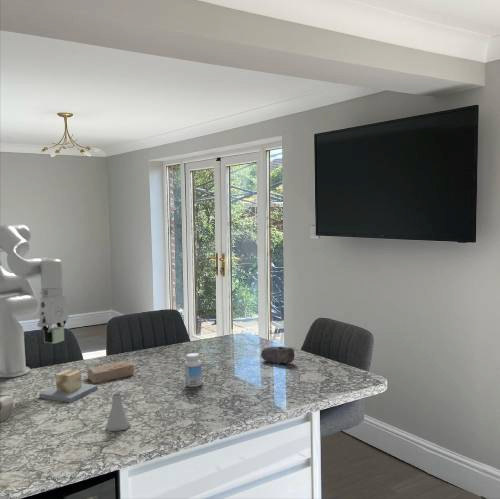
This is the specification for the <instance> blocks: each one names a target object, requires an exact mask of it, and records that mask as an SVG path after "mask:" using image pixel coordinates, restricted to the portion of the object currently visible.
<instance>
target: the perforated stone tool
mask: <svg viewBox="0 0 500 499" xmlns="http://www.w3.org/2000/svg"><path fill="white" fill-rule="evenodd" d="M260 355H261V358H262V359H263V360H264V361H265V362H271V363H272V364H277V365H280V364H283V365H288V364H290V363H293V361H294V359H295V349H293V348H292V347H287V346H286V347H283V346H269V347H268V346H267V347H265V348H263V349H262V350H261V353H260Z"/></svg>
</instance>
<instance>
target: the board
mask: <svg viewBox="0 0 500 499" xmlns="http://www.w3.org/2000/svg"><path fill="white" fill-rule="evenodd" d="M81 384H82V387H81V388H79V389H77V390H75V391H73V392H70V393H68V392H61V391H57V387H56V386H54V387H52V388H49V389H47V390H46V389H45V390H44V391H42V392H40V393H39V398H40V399H45V400H46V399H47V400H53V401H60V402H67V403H73V402H75V401H77V400H79V399H81V398H82V397H85V396H87V395H89V394H91V393H93V392H96V391H98V389H99V388H98V387H99V386H98V385H96V384H92V383H91V384H90V383H82V382H81Z"/></svg>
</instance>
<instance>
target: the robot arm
mask: <svg viewBox="0 0 500 499" xmlns="http://www.w3.org/2000/svg"><path fill="white" fill-rule="evenodd" d="M31 237H32V236H31V231H30V229H29V228H28V227H27V226H26V225H24V224H22V223H19V224H17V223H16V224H1V225H0V253H3V252H5V253H6V254H7V255H6V262H7V265H8V268H9V270H10V271H11V272H10V271H7V270H6V268H5V266H4V264H3V262H2V261H1V260H0V378H4V379H5V378H16V377H21V376H23V375H24V376H25V375H27V374H28V373H30V372H31V368H30V367H29V366H26V350H25V348H26V347H25V346H26V345H25V332H24V327H23V326H22V325H21V323H20V322H19V319H22V318H28V317H33V316H34V315H36V314H38V312H39V320H38V322H37V327H39V328H40V330H41V331H42V332H43V338H44V337H45V342H48V344H52V343H51V342H52V332H50V331H51V327H53V326H52V325H55V327H64V328H65V325H66V323H67V321H68V320H69V315H68V314H69V313H68V306H67V299H66V295H65V294H64V283H63V282H64V280H63V263H62V260H61V259H59V258H50V257H47V256H40V257H30V258H25V256H27V254H28V253H29V251H30V244H29V242H30V240H31V239H32V238H31ZM36 278H37V279H38V278H40V285H41V286H40V288H41V291H40V295H41V297H40V301H39V299H38V296H37V294H36V292H35V290H34V288H33V285H32V283H31V279H36ZM45 342H44V343H45Z"/></svg>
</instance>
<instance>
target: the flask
mask: <svg viewBox="0 0 500 499" xmlns="http://www.w3.org/2000/svg"><path fill="white" fill-rule="evenodd" d="M110 396H111V398H112V404H111V409H110V412H109V416H108V420H107V422H106V426H105V429H106V431H109V432H121V431H126V430H127V429H129V428H130V427H131V422H130V421H129V418H128V416H127V414H126V411H125V408H124V406H123V402H122V401H123V400H122V397H123V393H122V392H115V393H112V394H111V395H110Z"/></svg>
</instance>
